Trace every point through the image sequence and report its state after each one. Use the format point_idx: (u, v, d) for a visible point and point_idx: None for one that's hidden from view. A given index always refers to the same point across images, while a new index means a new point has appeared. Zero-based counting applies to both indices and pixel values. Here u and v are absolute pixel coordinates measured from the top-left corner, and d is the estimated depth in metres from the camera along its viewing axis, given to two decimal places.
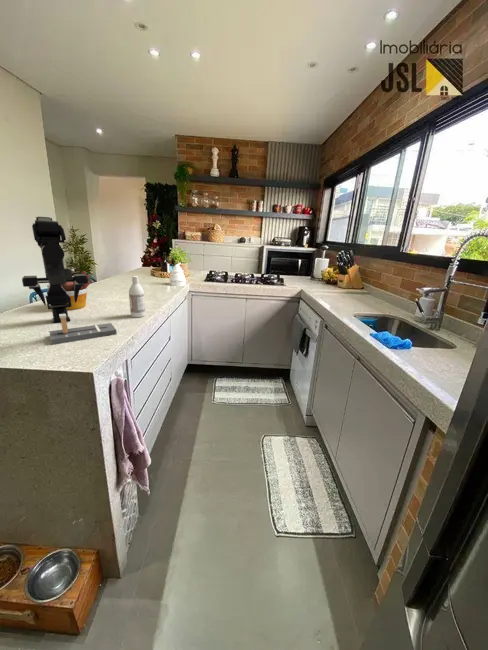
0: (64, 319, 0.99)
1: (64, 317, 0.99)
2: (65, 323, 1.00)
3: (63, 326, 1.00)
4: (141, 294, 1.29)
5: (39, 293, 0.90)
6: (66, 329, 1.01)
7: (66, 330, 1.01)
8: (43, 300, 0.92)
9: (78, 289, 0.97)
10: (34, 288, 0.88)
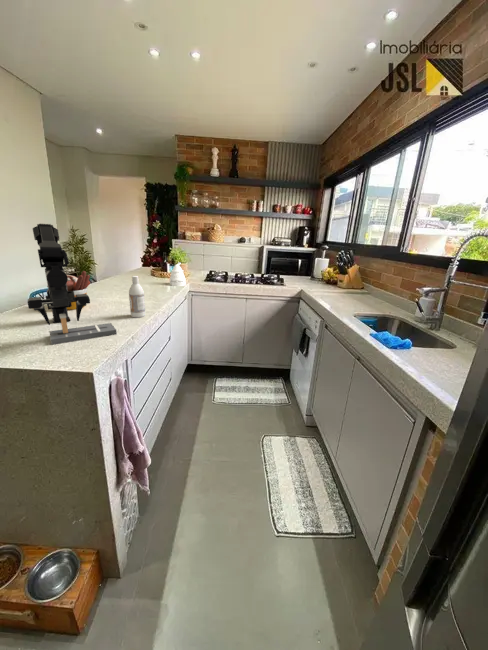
0: (64, 319, 0.99)
1: (64, 317, 0.99)
2: (65, 323, 1.00)
3: (63, 326, 1.00)
4: (141, 294, 1.29)
5: (43, 314, 0.95)
6: (66, 329, 1.01)
7: (66, 330, 1.01)
8: (47, 320, 0.97)
9: (80, 309, 1.02)
10: (39, 310, 0.93)
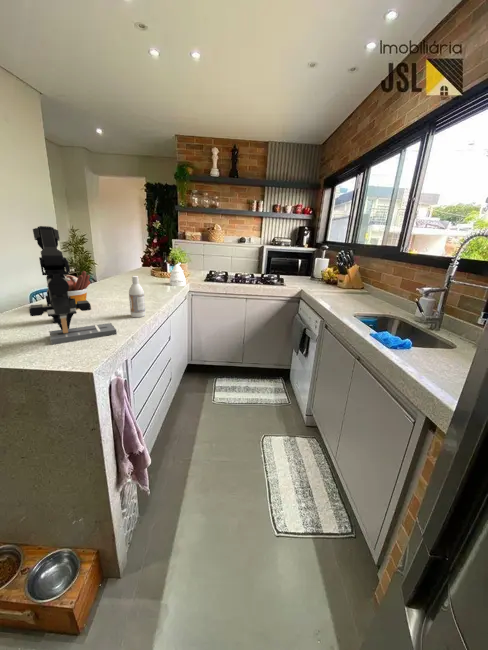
0: (64, 319, 0.99)
1: (64, 317, 0.99)
2: (65, 323, 1.00)
3: (63, 326, 1.00)
4: (141, 294, 1.29)
5: (57, 319, 0.98)
6: (66, 329, 1.01)
7: (66, 330, 1.01)
8: (60, 325, 1.00)
9: (70, 317, 1.00)
10: (53, 315, 0.96)
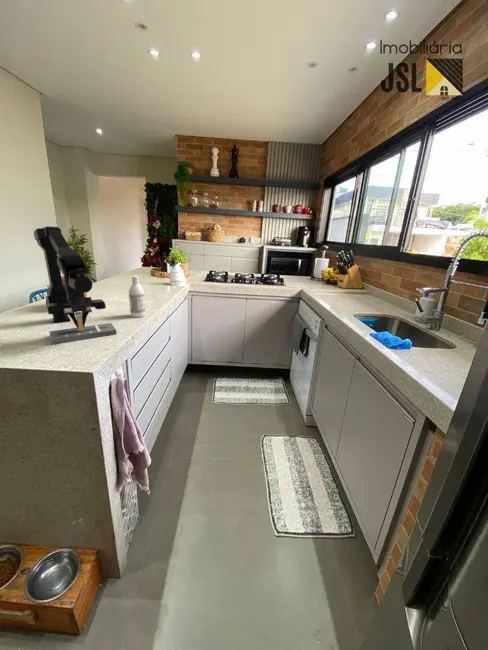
0: (80, 317, 1.02)
1: (80, 315, 1.02)
2: (81, 321, 1.03)
3: (79, 324, 1.03)
4: (141, 294, 1.29)
5: (73, 318, 1.01)
6: (82, 327, 1.04)
7: (82, 328, 1.04)
8: (76, 323, 1.03)
9: (86, 315, 1.03)
10: (69, 314, 0.99)
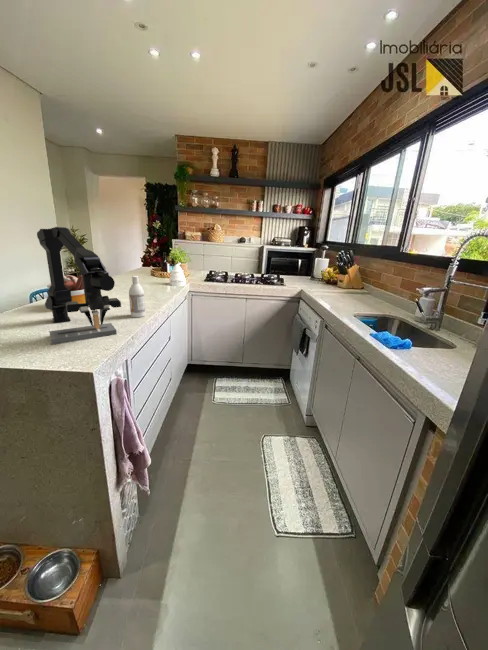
0: (96, 315, 1.06)
1: (97, 313, 1.05)
2: (97, 319, 1.06)
3: (95, 322, 1.06)
4: (141, 294, 1.29)
5: (88, 316, 1.04)
6: (98, 325, 1.07)
7: (98, 326, 1.07)
8: (91, 322, 1.06)
9: (104, 313, 1.07)
10: (85, 312, 1.02)
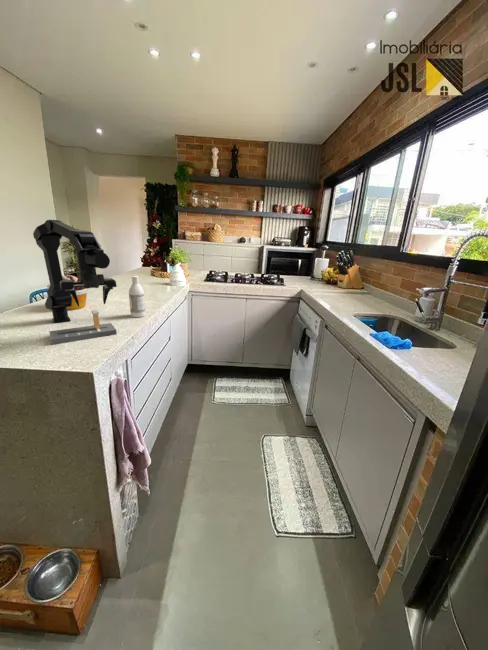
0: (96, 315, 1.06)
1: (97, 313, 1.05)
2: (97, 319, 1.06)
3: (95, 322, 1.06)
4: (141, 294, 1.29)
5: (74, 295, 1.01)
6: (98, 325, 1.07)
7: (98, 326, 1.07)
8: (77, 302, 1.02)
9: (107, 292, 1.07)
10: (70, 291, 0.98)
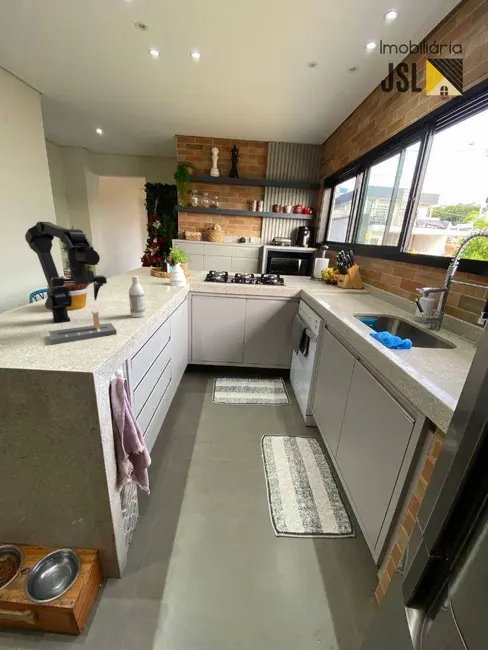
0: (96, 315, 1.06)
1: (97, 313, 1.05)
2: (97, 319, 1.06)
3: (95, 322, 1.06)
4: (141, 294, 1.29)
5: (65, 292, 1.04)
6: (98, 325, 1.07)
7: (98, 326, 1.07)
8: (68, 298, 1.05)
9: (98, 288, 1.10)
10: (61, 288, 1.02)
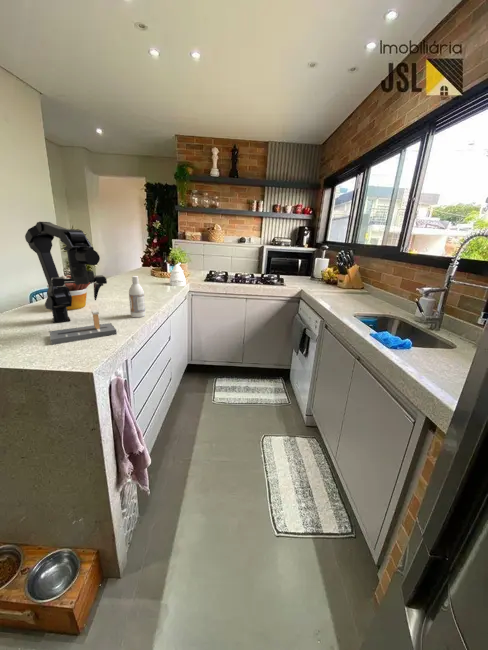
0: (96, 315, 1.06)
1: (97, 313, 1.05)
2: (97, 319, 1.06)
3: (95, 322, 1.06)
4: (141, 294, 1.29)
5: (65, 292, 1.04)
6: (98, 325, 1.07)
7: (98, 326, 1.07)
8: (68, 298, 1.05)
9: (98, 288, 1.10)
10: (61, 288, 1.02)
